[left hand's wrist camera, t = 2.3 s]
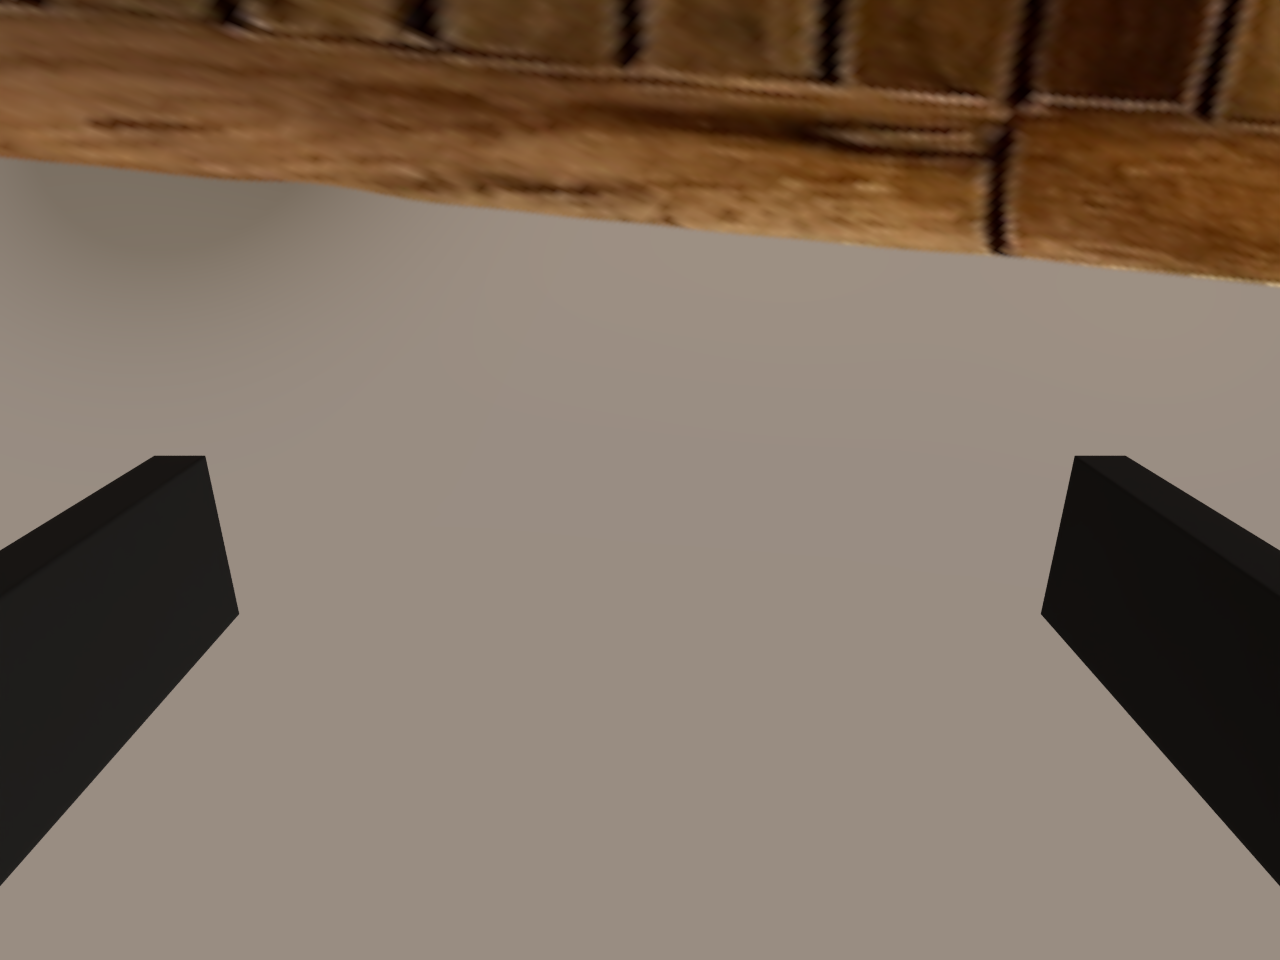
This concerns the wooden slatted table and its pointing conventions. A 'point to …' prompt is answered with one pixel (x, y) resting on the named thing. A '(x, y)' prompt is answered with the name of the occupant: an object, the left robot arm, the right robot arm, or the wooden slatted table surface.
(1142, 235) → the wooden slatted table surface
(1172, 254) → the wooden slatted table surface
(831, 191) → the wooden slatted table surface
